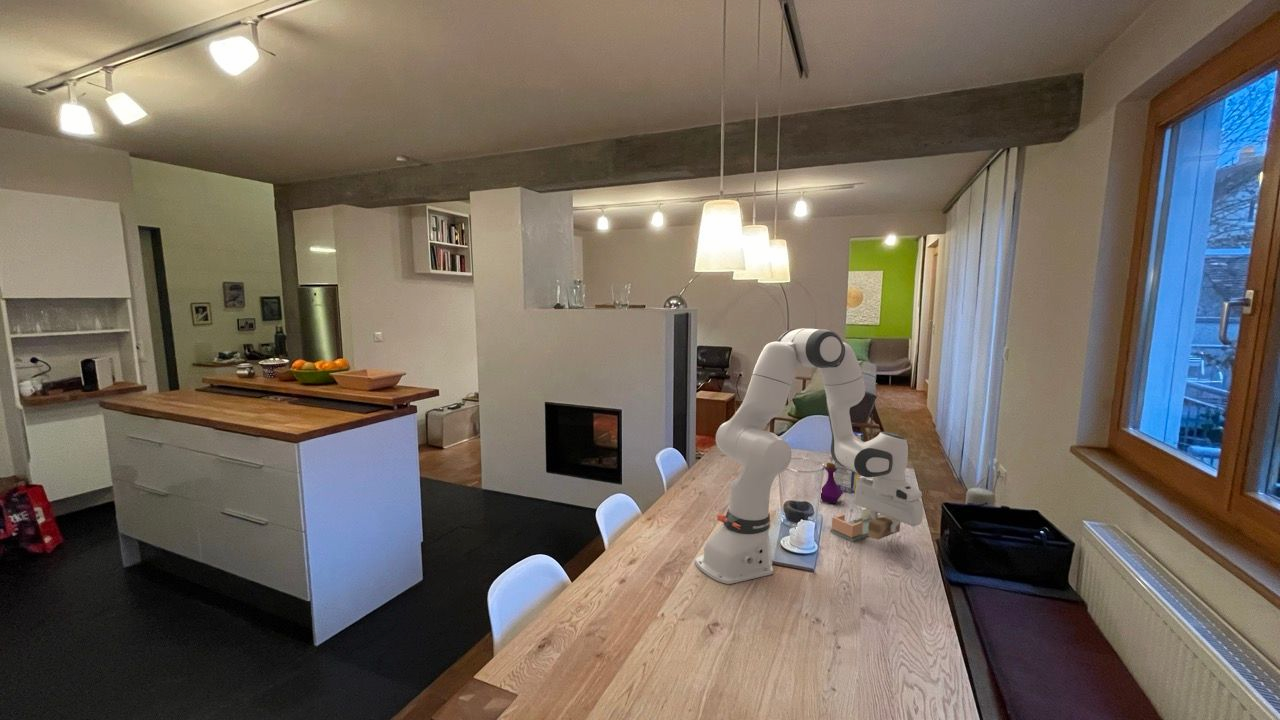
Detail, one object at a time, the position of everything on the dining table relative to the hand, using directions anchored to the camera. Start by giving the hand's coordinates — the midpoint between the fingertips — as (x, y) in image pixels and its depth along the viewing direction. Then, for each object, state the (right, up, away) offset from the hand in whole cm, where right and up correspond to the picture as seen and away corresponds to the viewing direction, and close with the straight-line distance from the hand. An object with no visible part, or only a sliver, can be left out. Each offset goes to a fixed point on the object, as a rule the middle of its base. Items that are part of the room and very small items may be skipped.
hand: (884, 528), depth 151 cm
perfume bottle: (-4, -1, +33) cm, 33 cm away
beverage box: (+8, 0, +47) cm, 48 cm away
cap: (-9, -3, +6) cm, 11 cm away
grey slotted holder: (-3, -4, +10) cm, 11 cm away
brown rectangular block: (0, -2, 0) cm, 2 cm away
